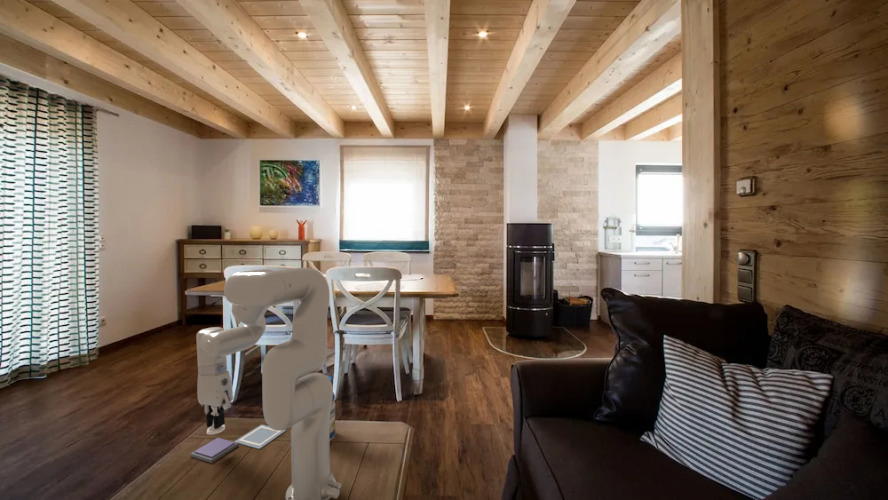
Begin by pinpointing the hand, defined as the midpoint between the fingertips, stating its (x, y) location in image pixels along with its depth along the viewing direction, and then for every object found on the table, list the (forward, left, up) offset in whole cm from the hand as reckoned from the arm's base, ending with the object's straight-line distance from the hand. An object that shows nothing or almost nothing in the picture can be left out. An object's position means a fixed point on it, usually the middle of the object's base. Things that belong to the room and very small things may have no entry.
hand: (215, 425), depth 110 cm
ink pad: (+1, 0, -9) cm, 9 cm away
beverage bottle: (-26, -18, -9) cm, 33 cm away
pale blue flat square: (-6, -11, -9) cm, 15 cm away
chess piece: (0, 0, -2) cm, 2 cm away
